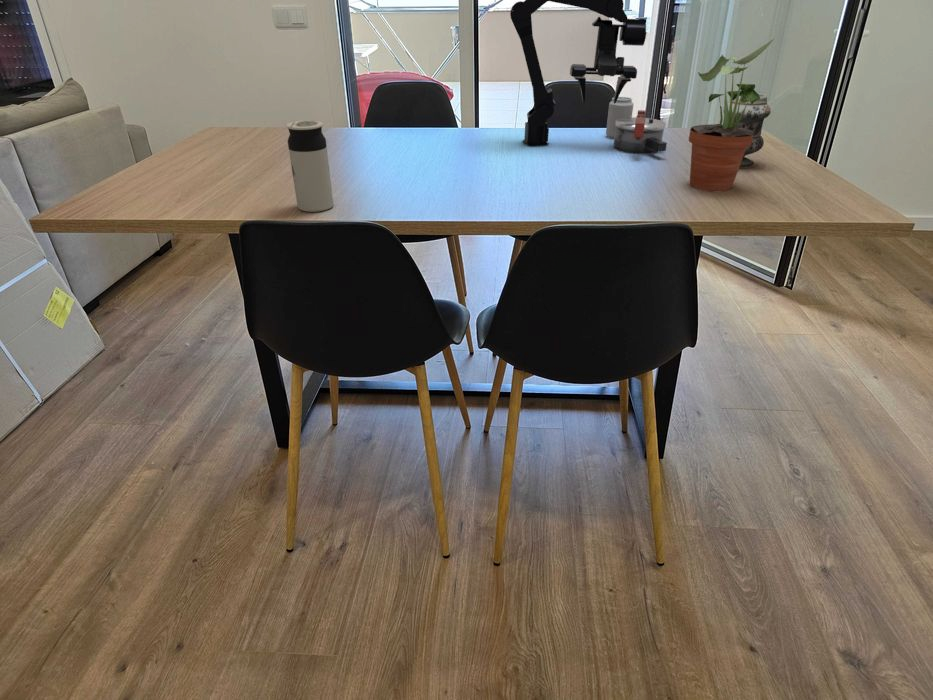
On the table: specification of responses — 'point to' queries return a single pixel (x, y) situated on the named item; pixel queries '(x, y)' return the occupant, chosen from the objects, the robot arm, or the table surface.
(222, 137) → the table surface
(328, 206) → the travel mug
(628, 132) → the dark grey curved piece
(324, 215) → the table surface
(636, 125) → the lid
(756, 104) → the weathered urn vase
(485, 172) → the table surface
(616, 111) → the can
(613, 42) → the robot arm
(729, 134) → the potted plant
